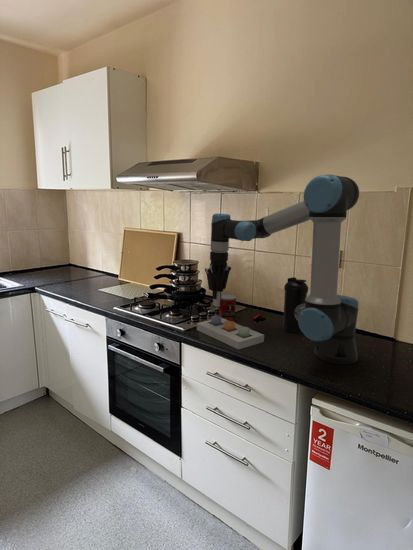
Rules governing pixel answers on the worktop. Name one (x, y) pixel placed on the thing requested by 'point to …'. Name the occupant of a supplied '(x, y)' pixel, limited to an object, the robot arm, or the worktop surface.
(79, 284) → the worktop surface
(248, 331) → the button sage
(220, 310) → the canned food
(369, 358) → the worktop surface
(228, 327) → the button orange
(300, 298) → the water bottle
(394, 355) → the worktop surface
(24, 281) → the worktop surface
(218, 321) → the button slate
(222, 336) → the console
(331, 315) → the robot arm
